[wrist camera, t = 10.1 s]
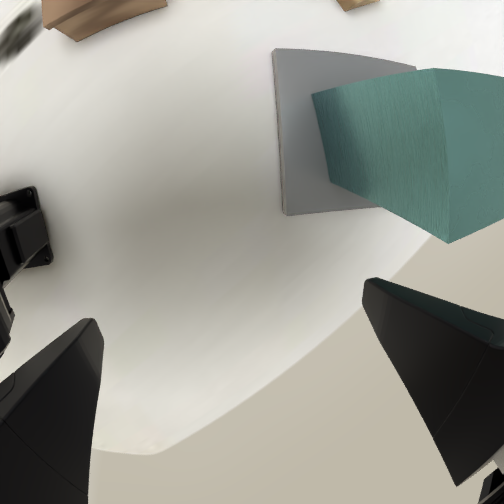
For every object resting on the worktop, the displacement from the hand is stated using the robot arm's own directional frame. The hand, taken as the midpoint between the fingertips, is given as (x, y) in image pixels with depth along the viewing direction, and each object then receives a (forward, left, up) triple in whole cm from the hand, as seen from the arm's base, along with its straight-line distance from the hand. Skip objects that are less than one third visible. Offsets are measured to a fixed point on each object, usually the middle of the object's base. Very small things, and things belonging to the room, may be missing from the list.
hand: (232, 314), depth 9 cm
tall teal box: (+11, +5, -12) cm, 17 cm away
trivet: (+11, +5, -13) cm, 18 cm away
